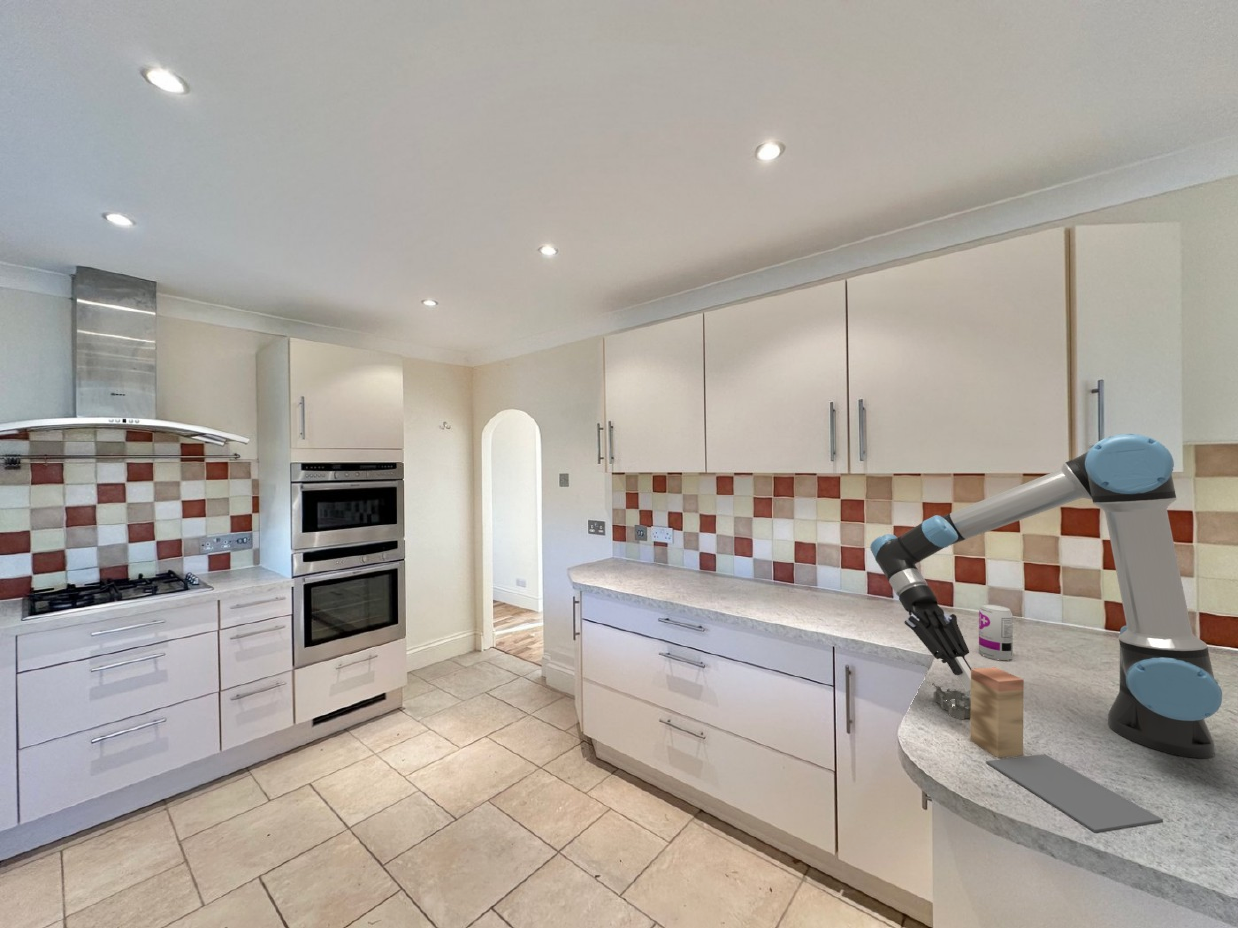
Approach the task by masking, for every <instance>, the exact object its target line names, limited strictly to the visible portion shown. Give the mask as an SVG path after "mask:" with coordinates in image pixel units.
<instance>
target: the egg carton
mask: <svg viewBox="0 0 1238 928" xmlns="http://www.w3.org/2000/svg"><path fill="white" fill-rule="evenodd" d="M931 685H932V686H934V688H935V691H934V692H933V701H934V702H935V703H937V702H939V703H938V704H940V703H941V704H940V708H941V709H943V708H944V709H943V710H945V709H947V710H946V711H948V710H949V711H948V715H949V714H950V715H951V717H952V716H954V717H953V718H956V719H959V720H961V719H963V720H962V721H964V720H965V718H968V719H971V693H970V692H966V690H962V689H961V690H958V689H955V688H954V689H953V690H951V689H950V688H947V689H946V691H945V690H944V691H943V689H942V687H941V686H939V685H936V684H935V683H934V682H933V683H932V684H931ZM952 699H955V700H954V703H953V702H952ZM946 700H947V701H946ZM950 700H951V701H950ZM952 704H955V706H953V707H952ZM950 715H949V716H950Z"/></svg>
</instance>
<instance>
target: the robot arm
mask: <svg viewBox="0 0 1238 928" xmlns="http://www.w3.org/2000/svg"><path fill="white" fill-rule="evenodd" d="M1174 467H1175V462H1174V458H1173V455H1172V453H1171V451H1170V450H1168V448H1167V447H1166V446H1165V445H1163V443H1162V442H1160V441H1158V440H1156V439H1154V438H1152V437H1149V436H1145V435H1143V434H1134V433H1124V434H1123V433H1122V434H1121V433H1120V434H1117V435H1112V436H1111V435H1110V436H1108V437H1104V438H1103V439H1102V440H1098V441H1097V442H1096V443H1095V444H1094V445H1092V447H1091V448H1090V449H1089V450H1087V452H1085V453H1083V454H1080V455H1078V457H1075V458H1073V459H1070V460H1068V461H1066V462H1063V464H1062V465H1061V468H1060V469H1057V470H1055V471H1052V472H1051V473H1047V474H1045V475H1043V476H1041V477H1038V478H1035V479H1033V480H1030V481H1027V482H1026V483H1023V484H1020V485H1017V486H1015V487H1013V488H1010V489H1008V490H1005V491H1003V492H1002V491H1001V492H1000V493H997V494H995V495H993V496H990V497H988V498H985V499H982V500H981V501H980V500H979V501H977V502H975V503H972V504H970V505H967V506H964V507H962V508H959V509H958V510H957V509H956V511H952V512H950V513H948V514H944V515H942V516H941V515H937V514H936V515H933V516H931V517H930V518H927V519H925V520H923V521H922V522H921V523H919V524H918V525H916V526H915V527H913V528H911V529H910V530H908V531H906V532H905V533H904V534H902V535H899V536H898V537H897V536H896V535H894V534H890V533H888V534H884V535H882V536H877V538H874V540H873V541H872V542H871V543H870V551H871V553H872V555H873V557H874V559H875V562H876V563H877V564H878V566H879V568H880V569H881V571H882V572H883V575H884V576H885V577H886V579H887V581H888V583H889V585H890V586H891V588H892V590H893V591H894V593H895V594H896V596H897V597H898V600H899V601H900V604H901V605H902V607H903V608H904V610H905V611H906V612H908V616H909V617H908V618H906V620H904V625H906V626H907V627H908V628H909V629H911V630H912V631H913V633H914V634H915V635H916V636H917V637H918V639H919V640H920V641H921V643H922V644H923V645H924V646H925V648H927V650H928V651H929V652H930V653H931V654H932V655H933V657H934V658H935V659H937V660H940V662H941V663H942V664H947V666H948V667H949V668H950V670H951V672H952V673H953V675H955V676H956V677H957V678H958V680H959V682H960V683H961V685H962V686H963V688H964V691H966V692H968V693H971V669H972V667H971V666H970V664H969V662H968V661H967V659H966V658H965V657H966V656H967V655H968V654H969V653H970V650H969V647H968V644H967V642H966V641H965V638H964V637H963V633H962V632H961V628H960V626H959V625H958V616H957V615H956V614H955V613H952V614H948V613H945V611H944V610H943V608H942V607H940V606H939V604H938V598H937V596H936V594H935V593H934V592H933V590H932V589H931V587H930V586H928V582H927V581H926V579H925V578H924V576H923V574H922V573H921V572H920V570H919V568H917V566H916V564H918V563H920V562H922V561H924V560H925V559H927V558H928V557H931V556H932V555H934V554H936V553H938V552H940V551H941V550H943V549H945V548H949V546H952V545H955V544H957V543H960V542H963V541H966V540H968V539H971V538H973V537H976V536H979V535H982V534H985V533H987V532H988V533H989V532H990V531H993V530H997V529H999V528H1001V527H1004V526H1007V525H1010V524H1013V523H1016V522H1019V521H1021V520H1024V519H1028V518H1029V517H1032V516H1035V515H1037V514H1040V513H1041V514H1042V513H1043V512H1047V511H1049V510H1052V509H1056V508H1058V507H1060V506H1061V507H1062V506H1063V505H1065V504H1069V503H1072V502H1075V501H1077V500H1080V499H1086V500H1092V504H1093V505H1095V506H1096V507H1098V508H1099V509H1101V510H1102V511H1104V514H1105V519H1106V525H1107V529H1108V535H1109V541H1110V545H1111V551H1112V556H1113V562H1114V567H1115V572H1116V576H1117V581H1118V582H1117V583H1118V587H1119V593H1120V598H1121V603H1122V609H1123V614H1124V619H1125V623H1126V624H1125V625H1123V626H1122V627H1120V631H1119V635H1118V642H1119V692H1118V694H1117V696H1116V698H1115V700H1114V702H1113V703H1112V705H1111V707H1110V710H1109V712H1108V714H1107V725H1108V726H1109V728H1110V729H1111V730H1113V731H1114V733H1117V734H1118V735H1120V736H1122V737H1123V738H1126V739H1128V740H1129V741H1131V742H1134V743H1136V744H1138V745H1139V744H1140V745H1142V746H1144V747H1148V748H1150V749H1153V750H1156V751H1160V752H1162V753H1163V752H1164V753H1166V754H1167V753H1168V754H1170V755H1171V754H1172V755H1175V756H1181V757H1185V758H1186V757H1187V758H1194V759H1208V758H1212V757H1214V755H1215V742H1214V740H1213V736H1212V735H1211V732H1210V730H1209V728H1208V726H1207V723H1206V720H1205V719H1207V718H1210V717H1212V716H1213V715H1215V714H1216V713H1217V712H1218V711H1219V709H1220V708H1221V706H1222V702H1223V691H1222V688H1221V686H1220V685H1219V682H1218V681H1217V680H1216V679H1215V676H1214V671H1213V666H1212V662H1211V658H1210V653H1209V649H1208V645H1207V643H1206V642H1205V641H1203V640H1201V639H1200V638H1198V637H1197V636H1195V634H1194V633H1193V629H1192V625H1191V621H1190V616H1189V612H1188V605H1187V602H1186V601H1187V600H1186V596H1185V591H1184V586H1183V581H1182V577H1181V571H1180V566H1179V562H1178V558H1177V557H1178V556H1177V552H1176V546H1175V543H1174V538H1173V532H1172V528H1171V523H1170V518H1169V513H1168V507H1169V506H1170V505H1172V504H1173V503H1174V502H1175V501H1177V495H1176V489H1175V484H1174V479H1173V471H1174Z"/></svg>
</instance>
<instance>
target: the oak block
mask: <svg viewBox="0 0 1238 928" xmlns="http://www.w3.org/2000/svg"><path fill="white" fill-rule="evenodd" d="M1024 682H1025V680H1024V678H1021V677H1019V676H1016V675H1014V674H1012V673H1009V672H1006V671H1004V670H1002V669H1000V668H999V667H992V666H991V667H981V668H971V692H970V695H971V718H970V727H969V728H970V730H969V731H970V732H969V733H970V734H969V735H970V737H969V738H970V739H969V741H970V742H971V743H972V744H974V745H976V746H978V747H979V748H981V749H983V750H984V751H986V752H988V753H989V754H991V755H993V756H994V757H995V758H998V759H1000V758H1001V759H1003V758H1012V757H1020V756H1023V755H1024V695H1025V694H1024V690H1025V689H1024V686H1025V685H1024V684H1025V683H1024Z"/></svg>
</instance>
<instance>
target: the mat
mask: <svg viewBox="0 0 1238 928" xmlns="http://www.w3.org/2000/svg"><path fill="white" fill-rule="evenodd" d="M985 763H986V764H987V765H988V766H990V767H991V768H993V769H994V770H996V771H998V772H999V773H1001V774H1002V775H1004V776H1005V777H1007V778H1009V779H1010V780H1011V781H1014V782H1015V783H1016V784H1018V785H1019V786H1021V787H1023V788H1024V789H1026V790H1027V791H1029V792H1030V793H1032V794H1034V795H1035V796H1037V797H1038V798H1039V799H1041V800H1042V801H1044V802H1046V803H1047V804H1049V805H1051V806H1052V807H1054V808H1055V809H1056V810H1058V811H1060V812H1061V813H1063V814H1064V815H1067V816H1068V817H1069V818H1070V819H1072V820H1074V821H1076V822H1077V823H1078V824H1080V825H1082V826H1084V827H1085V828H1086V829H1088V830H1090V831H1091V832H1092V833H1095V834H1096V833H1101V832H1106V831H1107V832H1108V831H1113V830H1118V829H1120V828H1121V829H1126V828H1125V827H1127V828H1130V827H1129V826H1133V827H1138V825H1139V826H1145V825H1150V824H1151V825H1152V824H1157V823H1163V822H1164V819H1163V818H1161V817H1159V816H1158V815H1156V814H1154V813H1152V812H1151V811H1149V810H1147V809H1146V808H1143V807H1142V806H1140V805H1138V804H1136V803H1134V802H1133V801H1130V800H1129V799H1127V798H1126V797H1124V796H1121V795H1120V794H1118V793H1116V792H1114V791H1113V790H1111V789H1110V788H1107V787H1105V786H1104V785H1102V784H1100V783H1098V782H1097V781H1094V780H1093V779H1091V778H1089V777H1087V775H1086V776H1085V775H1083V774H1081V773H1080V772H1078V771H1076V770H1074V769H1073V768H1071V767H1070V766H1067V765H1065V764H1064V763H1062V762H1060V761H1058V760H1057V759H1054V758H1053V757H1051V756H1049V755H1047V754H1046V753H1042V754H1036V755H1035V754H1034V755H1025V756H1015V757H1007V758H1001V759H1000V758H998V759H992V760H985Z"/></svg>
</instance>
